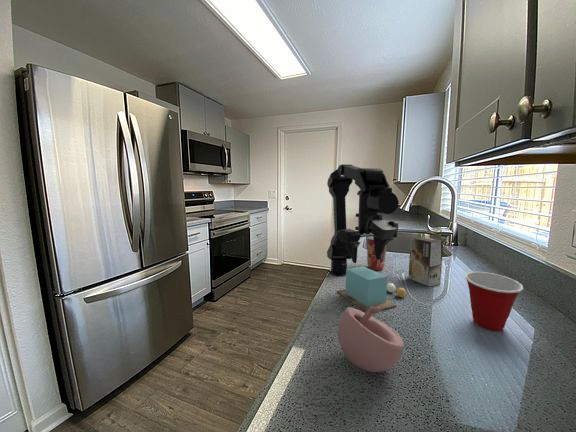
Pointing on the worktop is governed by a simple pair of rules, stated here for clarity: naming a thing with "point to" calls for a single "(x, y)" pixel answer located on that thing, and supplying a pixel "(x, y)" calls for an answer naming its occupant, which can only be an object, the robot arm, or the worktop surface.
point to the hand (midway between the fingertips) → (366, 261)
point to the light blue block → (366, 286)
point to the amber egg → (401, 292)
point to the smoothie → (371, 256)
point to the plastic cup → (491, 298)
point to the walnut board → (365, 308)
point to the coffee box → (425, 260)
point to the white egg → (391, 287)
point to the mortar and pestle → (368, 340)
